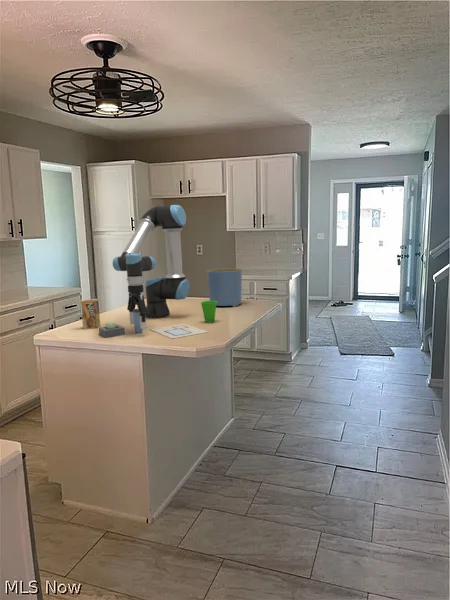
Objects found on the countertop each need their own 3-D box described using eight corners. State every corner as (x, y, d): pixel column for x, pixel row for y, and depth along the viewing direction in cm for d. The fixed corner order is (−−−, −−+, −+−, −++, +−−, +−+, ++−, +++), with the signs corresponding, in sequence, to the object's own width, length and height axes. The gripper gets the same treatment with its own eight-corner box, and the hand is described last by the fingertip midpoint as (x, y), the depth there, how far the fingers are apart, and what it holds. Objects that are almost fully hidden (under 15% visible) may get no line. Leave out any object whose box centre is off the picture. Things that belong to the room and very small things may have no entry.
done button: (105, 331, 232) (105, 323, 231) (114, 330, 235) (113, 322, 234) (108, 332, 228) (108, 325, 228) (117, 331, 231) (117, 323, 230)
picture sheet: (149, 329, 238) (149, 329, 238) (183, 324, 249) (183, 323, 249) (172, 338, 217) (172, 338, 217) (208, 332, 227) (208, 331, 227)
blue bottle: (133, 332, 234) (131, 309, 232) (141, 331, 236) (139, 308, 234) (136, 334, 230) (134, 310, 228) (144, 332, 232) (142, 309, 230)
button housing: (99, 334, 233) (98, 327, 233) (118, 331, 238) (117, 324, 238) (105, 337, 225) (104, 330, 224) (125, 334, 230) (124, 327, 230)
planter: (205, 308, 296) (203, 272, 292) (212, 302, 318) (210, 268, 314) (240, 307, 292) (239, 271, 288) (244, 301, 314) (243, 267, 310)
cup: (215, 323, 248) (215, 303, 246) (199, 323, 250) (198, 303, 248) (219, 319, 257) (218, 300, 255) (203, 319, 258) (202, 300, 257)
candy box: (99, 325, 254) (96, 298, 251) (100, 327, 250) (98, 299, 248) (82, 328, 250) (80, 300, 248) (84, 329, 246) (81, 301, 244)
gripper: (119, 283, 237) (122, 323, 241) (137, 287, 217) (140, 331, 220) (133, 282, 241) (135, 321, 245) (152, 285, 221) (155, 329, 224)
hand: (138, 326), depth 232 cm, fingers open, 13 cm apart
